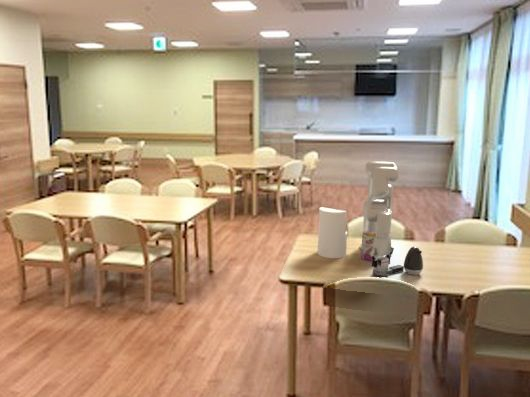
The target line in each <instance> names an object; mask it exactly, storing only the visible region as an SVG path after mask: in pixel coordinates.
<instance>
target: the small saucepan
mask: <svg viewBox="0 0 530 397" xmlns="http://www.w3.org/2000/svg"><path fill="white" fill-rule="evenodd" d="M404 271H405V269H404V265H401V264H396V265H392V266H388V271H386V272H382V273H380V272H378V271H375V270H373V269H372V276H373V277H374V278H377V277H387V278H388V276H389V275H392V274H397V273H400V272H401V273H402V272H404Z"/></svg>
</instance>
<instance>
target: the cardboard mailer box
mask: <svg viewBox="0 0 530 397" xmlns="http://www.w3.org/2000/svg"><path fill="white" fill-rule="evenodd" d="M375 258H376V257H375ZM389 265H390V264H389V258H386V257H385V256H380V257H378V259H377V268H375V267H373V266H372V267H373V268H372V271H373V270H375V271H378V272H380V273H382V272H386V271H388V268H389Z"/></svg>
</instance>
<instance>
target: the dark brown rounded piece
mask: <svg viewBox="0 0 530 397" xmlns="http://www.w3.org/2000/svg"><path fill="white" fill-rule="evenodd" d="M422 253H423V251H422V250H420V248H419V247H417V246H412V247H410V248H409V250H407V253H406V256H405V258H404V261H403V266H404V271H405V272H406V274H408V275H411V276H417V275H420V274H421V273H422V271H423V269H424V260H423V254H422Z"/></svg>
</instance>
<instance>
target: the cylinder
mask: <svg viewBox="0 0 530 397" xmlns="http://www.w3.org/2000/svg"><path fill="white" fill-rule="evenodd" d="M318 210H319V211H318V230H317V231H318V234H317V237H318V238H317V240H318V241H317V254H318V255H319V256H320V257H323V258H327V259H340V258H341V259H342V258H344V257H346V256H347V247H348V246H347V242H348V231H347V213H348V211H347V210H343V209H342V210H341V209H335V208H330V207H324V206H321V207H319V209H318Z"/></svg>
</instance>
